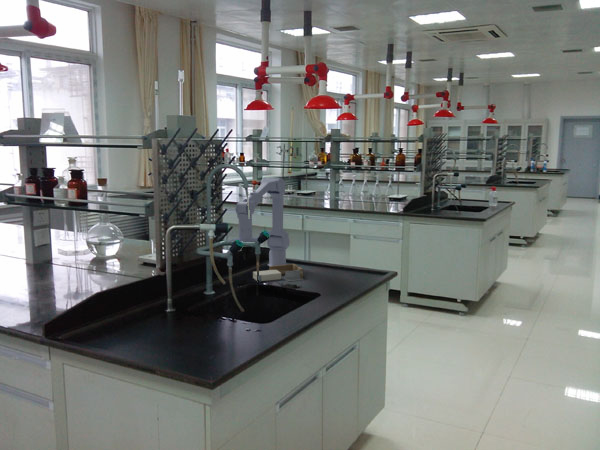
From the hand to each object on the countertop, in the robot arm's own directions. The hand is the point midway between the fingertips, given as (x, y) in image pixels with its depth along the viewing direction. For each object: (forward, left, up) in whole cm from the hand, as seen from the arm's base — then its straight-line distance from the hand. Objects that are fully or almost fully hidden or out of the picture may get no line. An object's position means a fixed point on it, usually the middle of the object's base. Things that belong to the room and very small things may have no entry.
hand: (246, 259), depth 228 cm
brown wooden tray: (0, +19, -9) cm, 21 cm away
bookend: (+7, +20, -9) cm, 23 cm away
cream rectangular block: (0, +10, -10) cm, 14 cm away
